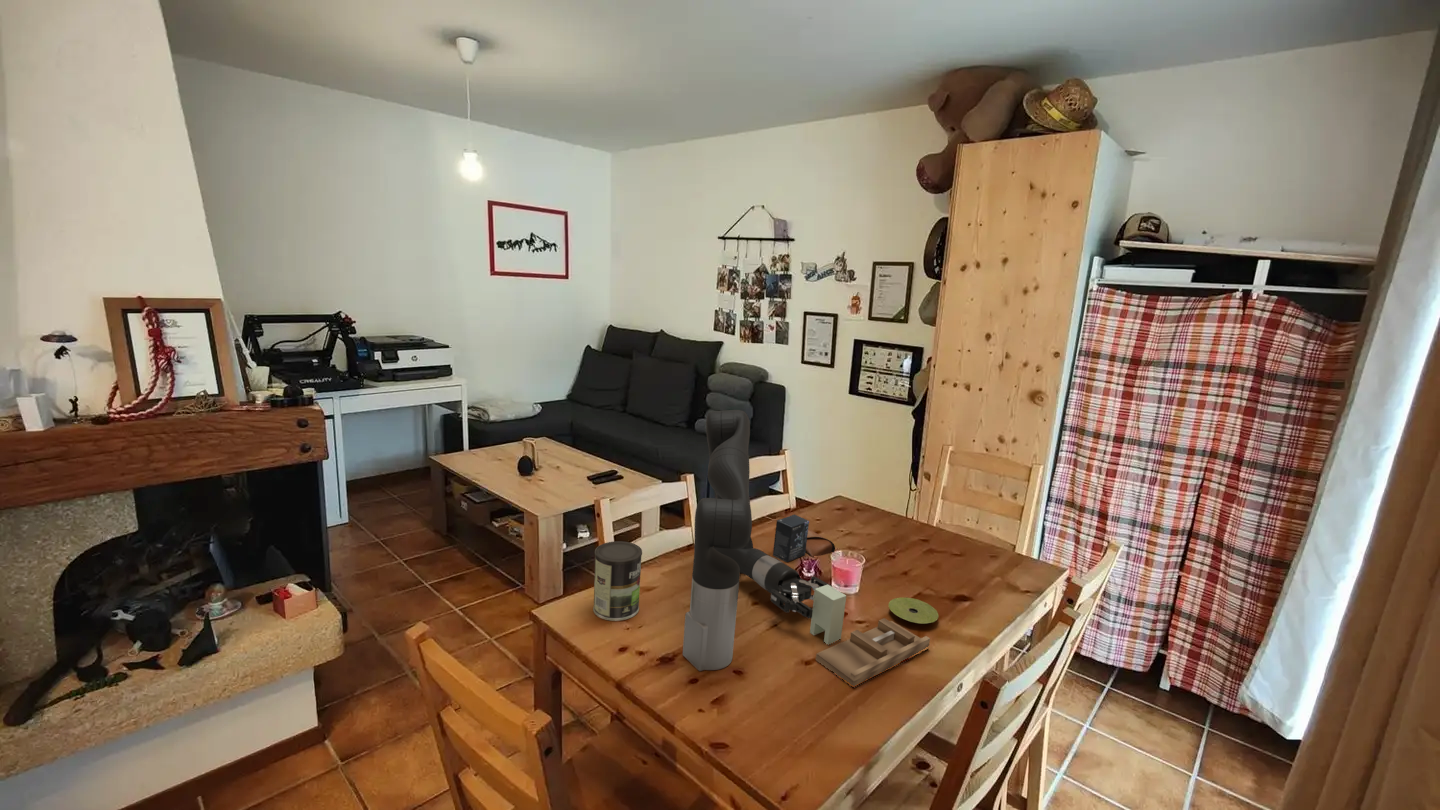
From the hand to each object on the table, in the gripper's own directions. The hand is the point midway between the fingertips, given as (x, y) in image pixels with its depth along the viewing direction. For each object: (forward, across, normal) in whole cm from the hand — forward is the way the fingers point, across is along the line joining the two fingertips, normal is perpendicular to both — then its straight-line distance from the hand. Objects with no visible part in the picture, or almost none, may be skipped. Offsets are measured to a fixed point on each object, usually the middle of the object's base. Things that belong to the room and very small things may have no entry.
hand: (825, 609), depth 132 cm
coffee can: (-31, -34, +6) cm, 47 cm away
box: (-32, +20, +6) cm, 38 cm away
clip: (+1, 0, +6) cm, 6 cm away
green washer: (+6, +24, +6) cm, 26 cm away
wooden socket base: (+11, +4, +6) cm, 13 cm away
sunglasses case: (-36, +30, +7) cm, 47 cm away
